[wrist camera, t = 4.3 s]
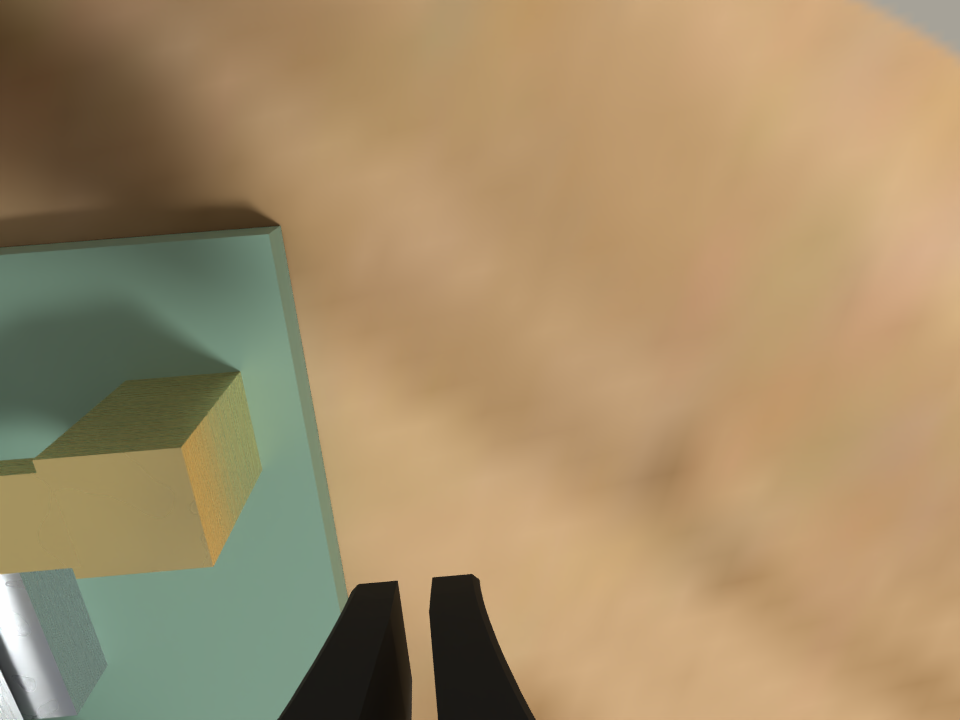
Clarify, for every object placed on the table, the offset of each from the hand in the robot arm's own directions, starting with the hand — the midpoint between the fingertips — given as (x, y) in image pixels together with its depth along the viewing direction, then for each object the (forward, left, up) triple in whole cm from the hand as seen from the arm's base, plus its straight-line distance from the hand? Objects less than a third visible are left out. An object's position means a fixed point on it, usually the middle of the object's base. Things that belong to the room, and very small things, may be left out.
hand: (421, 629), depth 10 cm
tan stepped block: (0, +8, -8) cm, 11 cm away
